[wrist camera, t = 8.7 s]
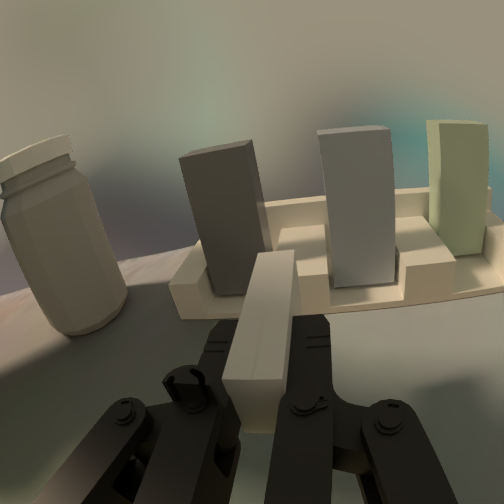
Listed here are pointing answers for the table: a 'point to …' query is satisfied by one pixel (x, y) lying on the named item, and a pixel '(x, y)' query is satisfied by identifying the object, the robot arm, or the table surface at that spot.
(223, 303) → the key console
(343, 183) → the key slate
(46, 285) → the jar
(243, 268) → the key charcoal
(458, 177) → the key sage
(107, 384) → the table surface
